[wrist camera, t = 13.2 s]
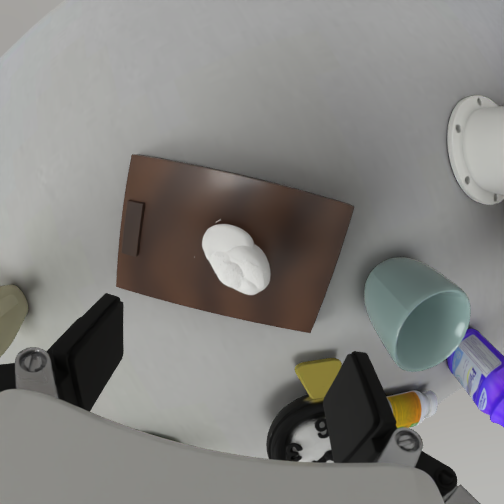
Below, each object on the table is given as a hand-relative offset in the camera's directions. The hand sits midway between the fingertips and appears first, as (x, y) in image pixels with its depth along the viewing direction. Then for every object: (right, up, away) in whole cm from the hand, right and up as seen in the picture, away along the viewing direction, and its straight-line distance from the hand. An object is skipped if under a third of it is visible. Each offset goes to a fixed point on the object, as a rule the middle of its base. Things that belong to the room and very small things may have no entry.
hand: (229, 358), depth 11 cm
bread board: (-1, +5, +16) cm, 17 cm away
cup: (+15, +1, +17) cm, 23 cm away
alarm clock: (+9, -15, +22) cm, 28 cm away
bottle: (+30, -9, +20) cm, 37 cm away
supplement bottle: (+16, -18, +20) cm, 31 cm away
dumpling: (-1, +4, +15) cm, 15 cm away
